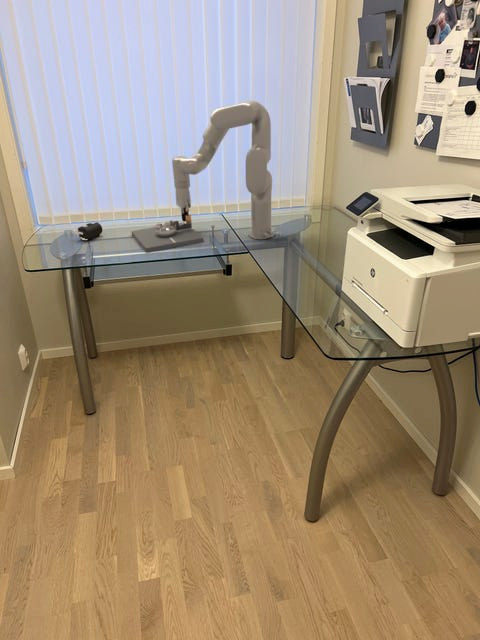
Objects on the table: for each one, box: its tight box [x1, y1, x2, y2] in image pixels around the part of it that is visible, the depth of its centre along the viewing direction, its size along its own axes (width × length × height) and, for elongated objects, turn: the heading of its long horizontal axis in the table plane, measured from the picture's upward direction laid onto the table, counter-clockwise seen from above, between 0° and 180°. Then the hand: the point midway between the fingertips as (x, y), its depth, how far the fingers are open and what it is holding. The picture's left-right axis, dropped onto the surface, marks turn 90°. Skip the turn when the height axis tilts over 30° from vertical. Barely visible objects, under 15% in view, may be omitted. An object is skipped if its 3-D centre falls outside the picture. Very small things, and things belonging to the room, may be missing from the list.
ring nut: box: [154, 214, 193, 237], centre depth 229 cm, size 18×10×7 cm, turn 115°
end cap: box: [77, 221, 103, 240], centre depth 233 cm, size 10×7×7 cm
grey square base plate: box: [131, 221, 204, 253], centre depth 230 cm, size 28×28×2 cm
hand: (185, 220), depth 235 cm, fingers closed
